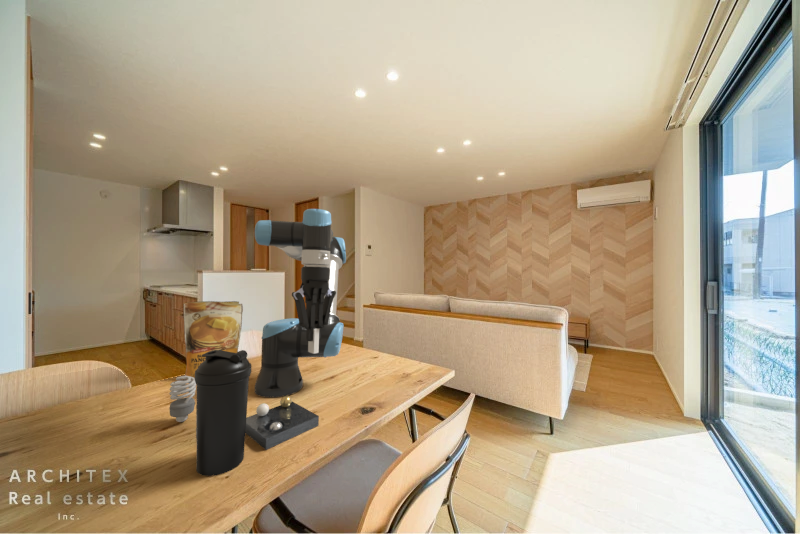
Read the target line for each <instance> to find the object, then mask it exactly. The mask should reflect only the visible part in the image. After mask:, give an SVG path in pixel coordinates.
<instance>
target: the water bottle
mask: <svg viewBox="0 0 800 534" xmlns="http://www.w3.org/2000/svg"><path fill="white" fill-rule="evenodd" d="M202 357H206V359H205V361H204V362H202V363H201V364H200V365H199V367H198V369H197V370H196V371H195V379H194V380H195V383H196V404H195V405H196V406H195V410H196V412H195V417H196V418H195V419H196V420H195V426H196V428H195V430H196V433H195V434H196V435H195V438H196V453H195V454H196V455H195V456H196V462H195V463H196V464H195V465H196V472H197V473H198V475H201V476H203V477H215V476H219V475H223V474H226V473H228V472H231V471H232V470H233V469H235V468H237V467H238V466H239V465H241V463H242V461H243V460H244V457H245V445H246V444H245V443H246V433H245V431H246V418H247V417H248V415H247V413H248V400H249V399H248V398H249V384H250V383H249V382H250V376H251V374H252V364H251V362H250V361H249V359H248V358H247V357H248V351H247V350H244V349H240V350H238V352H237V353H233V352H227V351H223V350H212V351H209V352H207V353H205V354H203V355H202Z"/></svg>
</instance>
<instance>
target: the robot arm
mask: <svg viewBox="0 0 800 534" xmlns="http://www.w3.org/2000/svg"><path fill="white" fill-rule="evenodd" d="M332 224H333V222H332V214H331V212H330V211H329V210H326V209H322V208H321V209H320V208H308V209H305V210H304V211H303V216H302V221H284V220H271V219H265V220H262V219H261V220H258V221H257V222H256V224H255V227H254V238H255V241H256V243H257V244H258V245H260V246H266V247H275V248H277V249H279V250H281V251H283V252H284V253H285V255H286V256H287V257H289V258H291V259H293V260H296V261H300V262H301V265H303V266H302V267H301V269H300V272H301V273H300V279H301V284H300V285H299V286H300V287H299V289H298V290H296V291H293V292H292V293H291V296H292V298H293V300H294V303H295V307H296V312H297V318H296V317H295V318H294V317H293V318H292V317H291V318H284V319H283V318H282V319H277V320H272V321H270V322H267V323H266V324H264V326H263V327H262V336H261V361H260V362H261V364H260V365H261V366H260V370H259V373H258V375H257V378H256V380H255V384H254V394H255V395H256V396H258V397H263V398H279V397H280V398H282V397H284V396H289V395H293V394H295V393H298V392H299V391H301V390H302V388H303V381H304V379H303V376H302V373H301V371H300V370H301V369H300V366H299V358H329V357H336V356H338V355H339V353H340V351H341V348H342V347H341V346H342V343H343V342H342V341H343V333H344V327H345V326H344V323H343V322H341V319H340V317H339V316H338V315H337V307H338V305H337V304H338V303H337V302H338V288H339V287H338V285H339V284H338V283H339V270H340V269H342V267H343V265H344V264H346V263H347V254H346V253H347V252H346V242H345V240H344V238H343V237H338V236H337V237H336V236H334V232H333V229H332Z"/></svg>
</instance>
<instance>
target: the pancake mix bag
mask: <svg viewBox="0 0 800 534" xmlns="http://www.w3.org/2000/svg"><path fill="white" fill-rule="evenodd" d="M182 305H183V307H182V308H183V309H182V311H183V321H184V322H183V329H184V330H183V332H184V334H183V335H184V342H185V361H186V367H185V375H184V376H190V377H194V378H195V371H196V370H197V369H198V367H199V365H200V364H201V363H202V362H204V361H205V359H206V357H202V355H203V354H205V353H207V352H209V351H212V350H223V351H227V352H233V353H237V352H239V347H240V346H239V345H240V340H241V331H242V323H243V322H242V321H243V311H244V307H243V303H240V301H235V300H233V301H215V300H214V301H212V300H211V301H210V300H208V301H188V302H186V303H183V304H182ZM183 380H188V379H183ZM191 381H192V380H191Z"/></svg>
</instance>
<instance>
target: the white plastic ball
mask: <svg viewBox="0 0 800 534" xmlns="http://www.w3.org/2000/svg"><path fill="white" fill-rule="evenodd" d="M269 409H270V406H269V405H268V404H267V403H260V404H259V405H258V406H257V407H256V414H258V415H259V416H264V415H266V414H267V413H268V411H269Z"/></svg>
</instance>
